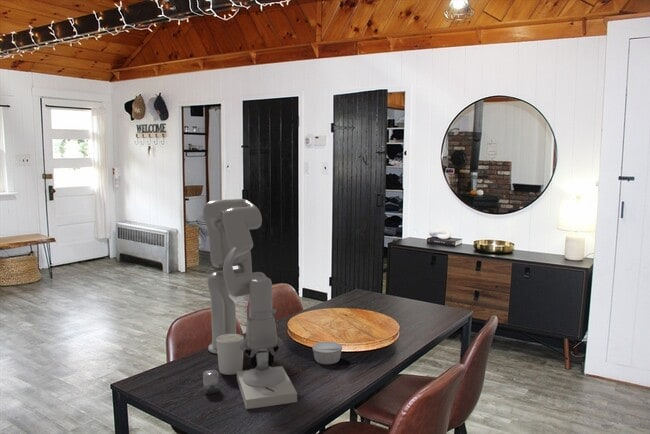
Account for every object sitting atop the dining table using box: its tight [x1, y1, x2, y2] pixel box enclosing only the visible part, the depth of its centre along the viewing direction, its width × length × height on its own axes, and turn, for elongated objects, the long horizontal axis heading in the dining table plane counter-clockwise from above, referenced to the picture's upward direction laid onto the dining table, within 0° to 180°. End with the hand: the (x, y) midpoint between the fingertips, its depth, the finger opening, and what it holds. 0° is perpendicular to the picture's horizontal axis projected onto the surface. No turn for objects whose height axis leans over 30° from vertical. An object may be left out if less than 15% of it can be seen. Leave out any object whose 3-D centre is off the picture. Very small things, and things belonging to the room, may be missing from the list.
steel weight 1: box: [202, 369, 220, 395], centre depth 172 cm, size 5×5×6 cm
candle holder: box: [216, 333, 245, 376], centre depth 188 cm, size 10×10×12 cm
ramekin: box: [312, 341, 343, 365], centre depth 198 cm, size 11×11×5 cm
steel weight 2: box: [254, 348, 270, 371], centre depth 177 cm, size 5×5×6 cm
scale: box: [236, 365, 298, 410], centre depth 172 cm, size 22×16×4 cm
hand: (262, 365), depth 178 cm, fingers closed on steel weight 2, 5 cm apart
